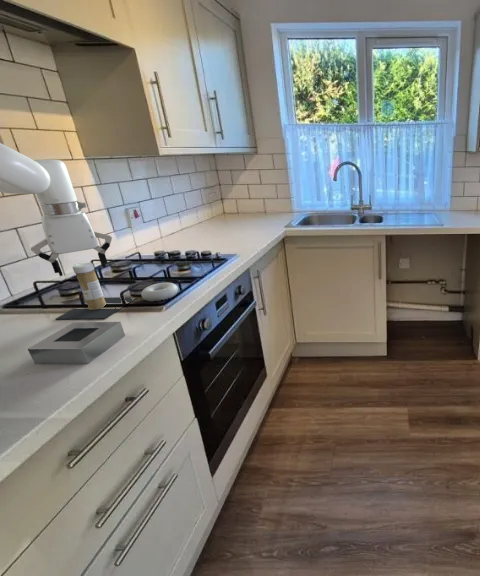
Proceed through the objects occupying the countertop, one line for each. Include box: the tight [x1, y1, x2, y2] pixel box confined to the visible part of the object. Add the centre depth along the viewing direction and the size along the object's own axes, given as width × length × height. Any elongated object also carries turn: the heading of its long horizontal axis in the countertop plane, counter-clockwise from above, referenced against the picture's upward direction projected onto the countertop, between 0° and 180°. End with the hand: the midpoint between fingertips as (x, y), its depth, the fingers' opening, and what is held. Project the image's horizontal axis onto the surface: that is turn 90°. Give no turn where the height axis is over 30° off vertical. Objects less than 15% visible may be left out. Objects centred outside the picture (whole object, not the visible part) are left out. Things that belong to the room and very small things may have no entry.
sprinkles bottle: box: [72, 261, 107, 310], centre depth 104 cm, size 5×5×14 cm
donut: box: [140, 282, 179, 303], centre depth 113 cm, size 10×4×10 cm
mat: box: [55, 296, 132, 321], centre depth 106 cm, size 14×14×1 cm
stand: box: [27, 321, 126, 365], centre depth 85 cm, size 12×12×4 cm
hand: (83, 270), depth 101 cm, fingers open, 9 cm apart
